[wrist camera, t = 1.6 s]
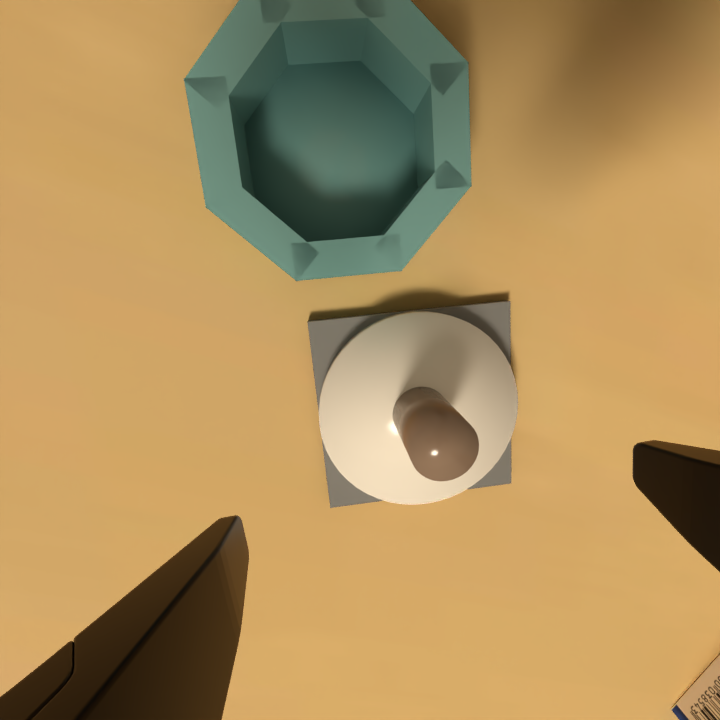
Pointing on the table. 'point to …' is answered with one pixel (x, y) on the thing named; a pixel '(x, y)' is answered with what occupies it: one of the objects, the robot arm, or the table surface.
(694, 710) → the beverage box
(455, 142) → the bowl
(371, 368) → the lid
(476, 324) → the mat
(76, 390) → the table surface
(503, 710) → the table surface
